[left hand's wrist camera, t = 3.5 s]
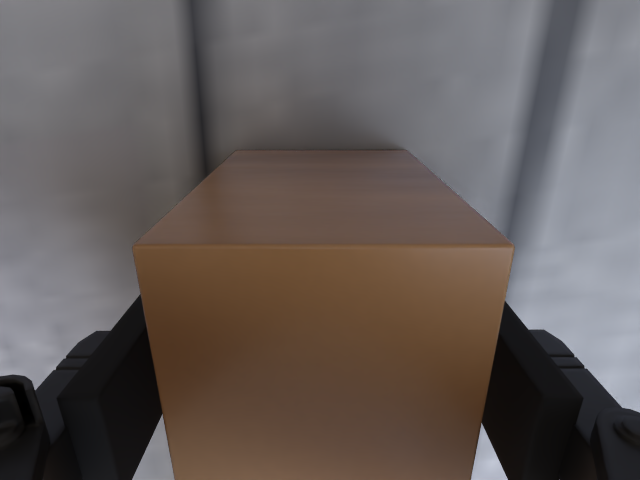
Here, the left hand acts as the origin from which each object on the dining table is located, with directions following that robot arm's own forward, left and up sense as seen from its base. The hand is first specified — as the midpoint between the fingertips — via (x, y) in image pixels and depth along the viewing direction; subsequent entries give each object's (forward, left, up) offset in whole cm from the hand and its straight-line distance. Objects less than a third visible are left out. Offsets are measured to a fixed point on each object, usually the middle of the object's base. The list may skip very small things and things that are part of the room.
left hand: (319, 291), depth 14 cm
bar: (+18, +14, -1) cm, 23 cm away
